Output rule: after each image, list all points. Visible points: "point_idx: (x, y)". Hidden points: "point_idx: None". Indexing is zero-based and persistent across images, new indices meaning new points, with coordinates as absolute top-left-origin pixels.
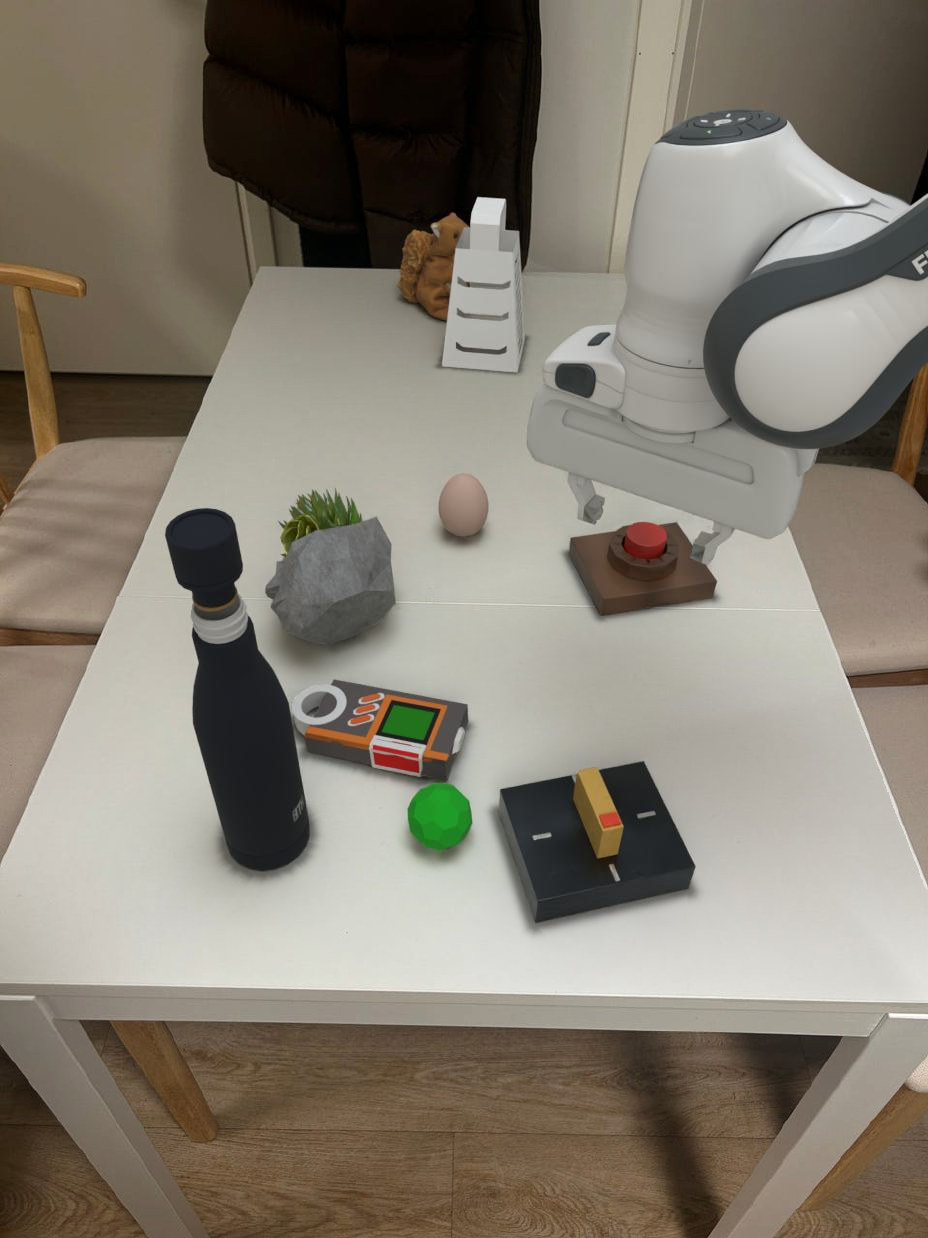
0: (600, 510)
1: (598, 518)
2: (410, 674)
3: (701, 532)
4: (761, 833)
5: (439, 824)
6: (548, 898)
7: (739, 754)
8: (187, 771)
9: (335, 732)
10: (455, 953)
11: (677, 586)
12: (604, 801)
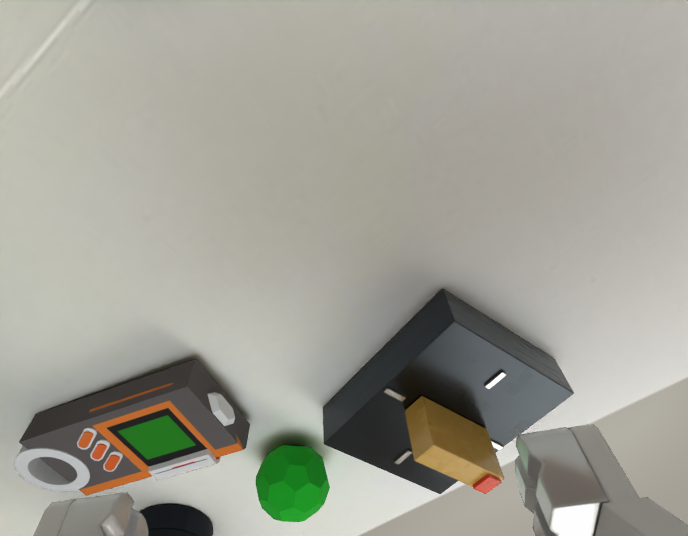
0: (116, 533)
1: (130, 508)
2: (56, 338)
3: (556, 516)
4: (620, 251)
5: (310, 515)
6: (447, 488)
7: (557, 150)
8: None
9: (109, 481)
10: (388, 501)
11: None
12: (468, 470)
